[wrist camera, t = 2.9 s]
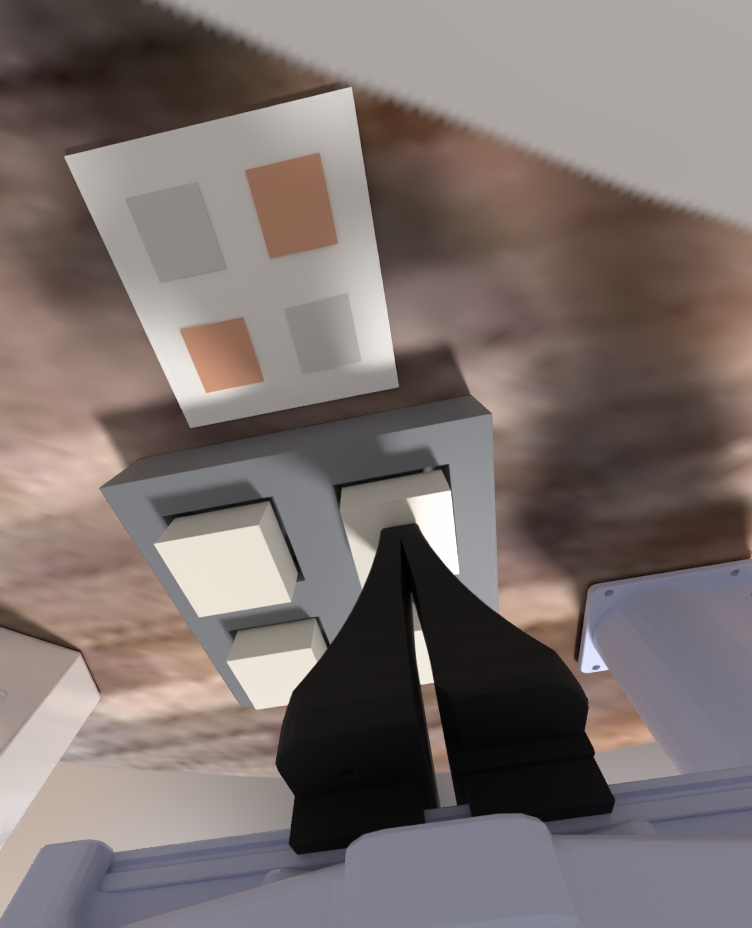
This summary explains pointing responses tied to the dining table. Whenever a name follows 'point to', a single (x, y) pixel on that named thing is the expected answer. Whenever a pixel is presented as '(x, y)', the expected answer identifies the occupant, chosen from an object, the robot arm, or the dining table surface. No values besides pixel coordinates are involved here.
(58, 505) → the dining table surface
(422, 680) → the button
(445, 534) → the button
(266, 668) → the button
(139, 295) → the card
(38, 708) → the jar
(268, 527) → the button
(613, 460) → the dining table surface
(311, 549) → the button board
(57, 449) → the dining table surface
